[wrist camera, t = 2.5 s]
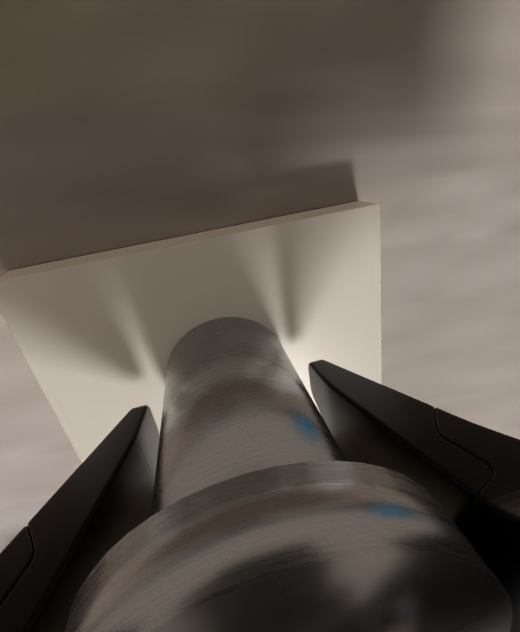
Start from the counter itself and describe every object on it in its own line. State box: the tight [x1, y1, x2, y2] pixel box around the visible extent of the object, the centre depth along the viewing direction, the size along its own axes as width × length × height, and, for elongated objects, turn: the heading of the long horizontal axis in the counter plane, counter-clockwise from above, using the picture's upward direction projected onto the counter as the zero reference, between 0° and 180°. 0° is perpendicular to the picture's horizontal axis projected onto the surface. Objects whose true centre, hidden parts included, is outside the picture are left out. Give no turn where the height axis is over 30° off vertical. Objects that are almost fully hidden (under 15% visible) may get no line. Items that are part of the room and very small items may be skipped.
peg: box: [65, 317, 513, 632], centre depth 7 cm, size 5×5×7 cm
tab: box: [0, 201, 381, 463], centre depth 10 cm, size 10×8×1 cm
